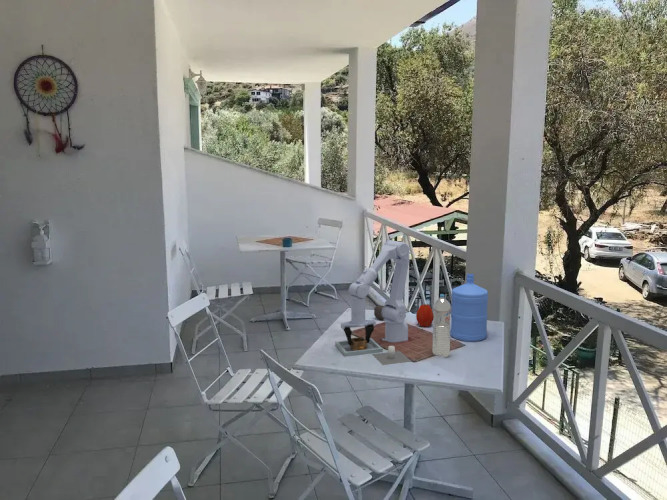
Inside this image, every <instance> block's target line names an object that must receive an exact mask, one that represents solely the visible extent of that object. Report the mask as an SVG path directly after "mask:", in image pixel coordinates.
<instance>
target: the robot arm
mask: <svg viewBox="0 0 667 500" xmlns="http://www.w3.org/2000/svg"><path fill="white" fill-rule="evenodd" d="M410 249H411V247H410V246H409V245H408V243H407V242H404V241H396V240H392V239H388V240H386V241H385V242H384V244H383V245H382V246H381V250H380V253H379V254H378V255H377V257H376V259H375V260H374V262H373V263H372V265H371V266H370V267H369V268H365V269H364V270H362V273H361V274H360V276H359V277H358V278H357V279H356V281H355V282H352V283H351V284H350V285H349V287H348V290H347V292H348V294H349V296H350V297H349V298H350V302H351V303H350V305H351V306H350V308H351V309H350V310H351V313H350V314H351V316H350V317H351V318H350V319H351V320H350V321H346V322H345V321H344V322H341V323H340V328H341V330H343V331H344V333H345V336H346V340H348V344H349V345H348V346H350V345H351V338H352V333H353V332H352V329H351V328H361V327H364V330H365V338H364V339H365V340H366V341H367V344H369V343H370V342H369V340H370V338H371V336H372V333H374V329H375V326H377V325H376V324H377V323H376V322H377V321H376V320H375V319H371V320H370V319H366V297H367V296H368V294H369V290H370V287H371V286H372V285H373V283H374V282H375V281H376V279H377V278H378V272H379V271H380V270H381V269H382V268H383V266H384V265H385V264H386V263H387V262H388V261H389V260H393V261H394V262H395V263H394V264H395V267H394V271H393V276H392V282H391V288H390V292H389V293H390V294H389V298H388V299H387V300H385V301H384V305H383V306H384V307H383V309H382V317H383V318H384V320H383V321H384V324H385V325H384V334H385V335H384V337H383V338H381V341H383V342H384V341H385V342H387V343H400V342H406V341H409V326H408V322H406V317H407V313H406V309H407V308H406V305H405V304H404V302H403V297H404V291H405V285H406V281H407V275H408V270H409V264H410Z"/></svg>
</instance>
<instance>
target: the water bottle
mask: <svg viewBox="0 0 667 500" xmlns="http://www.w3.org/2000/svg"><path fill="white" fill-rule="evenodd" d="M451 310H452V304H451V303H450V302H449V300H447V299H446V298H445V294H443V293H441V294H439V298H438V299H437V300H436V301H434V303H433V322H432V354H433V355H435V356H440V357H443V358H447V357H448V358H449V357H450V354H451V349H450V348H451Z"/></svg>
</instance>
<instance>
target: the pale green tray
mask: <svg viewBox="0 0 667 500" xmlns="http://www.w3.org/2000/svg"><path fill="white" fill-rule="evenodd" d="M334 343H335V345H334V346H335V347H336V348H337V349H338V350H339V351H340V353H341V354H342V355H343V356H344V357H345V358H346V357H352V356H353V357H354V356H361V355H370V354H371V355H372V354H379V353H384V348H383V347H381V346H380V345H379V344H378V342H376V341H375V340H374V339H373V338H372V337H370V340H369V343H370V344H371V345H372V347H374V348H367V349H366V350H358V351H353V350H352V351H351V350H349V351H347V350H346V349H345V348H344V347H343V346H347V345H348V346H350V345H349V344H348V340H347V339H346V340H338V341H335V342H334Z"/></svg>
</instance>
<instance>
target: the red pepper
mask: <svg viewBox="0 0 667 500" xmlns="http://www.w3.org/2000/svg"><path fill="white" fill-rule="evenodd" d="M433 315H434V310H432V307H431V306H430V305H429V304H426V303H424V304H421V305H420V306H419V307H418V309H417V311H416V316H415V317H416V322H417V324H418V325H419V326H420V327H424V328H427V327H431V325H433Z"/></svg>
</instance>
